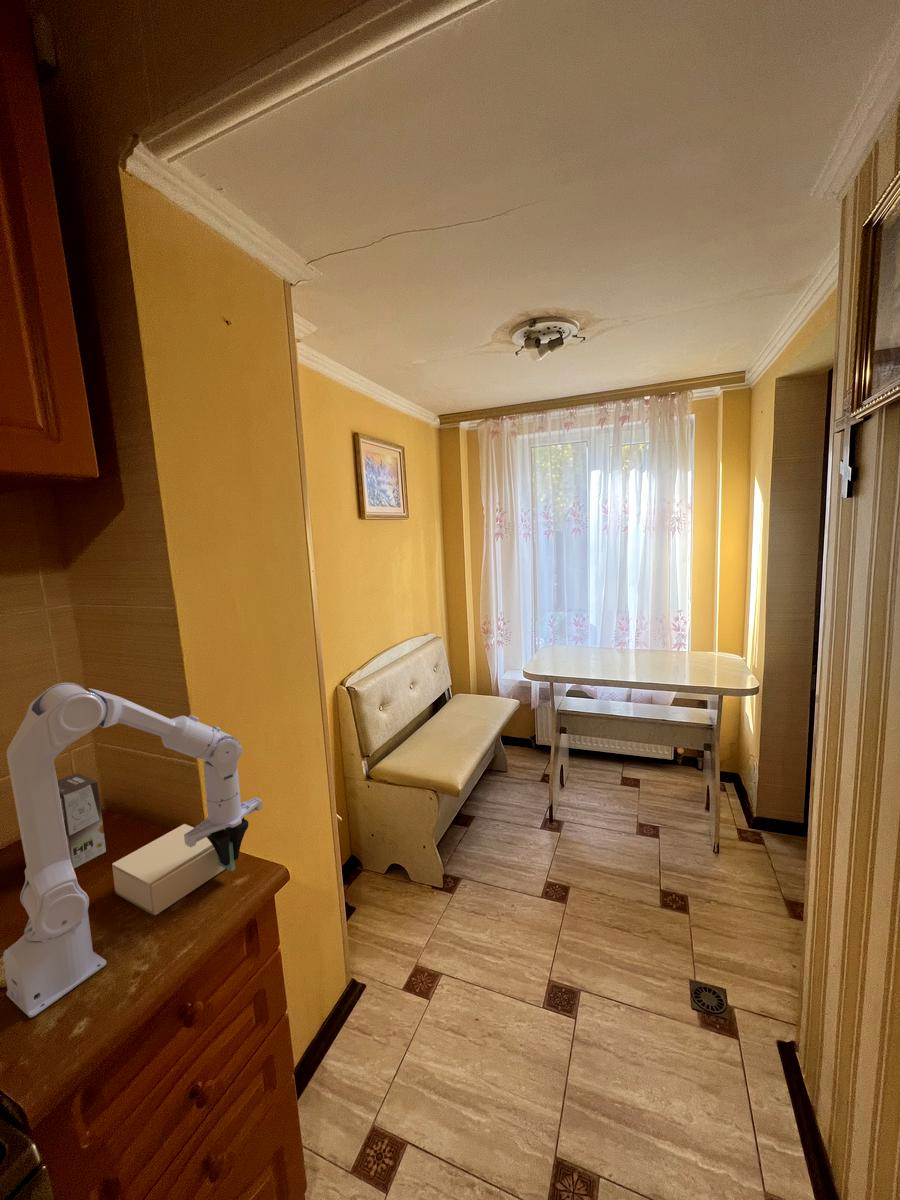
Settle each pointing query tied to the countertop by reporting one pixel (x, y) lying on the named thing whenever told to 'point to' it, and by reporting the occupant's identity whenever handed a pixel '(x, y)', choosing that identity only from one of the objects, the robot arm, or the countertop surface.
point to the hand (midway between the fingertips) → (229, 860)
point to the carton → (154, 865)
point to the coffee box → (82, 818)
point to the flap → (188, 878)
